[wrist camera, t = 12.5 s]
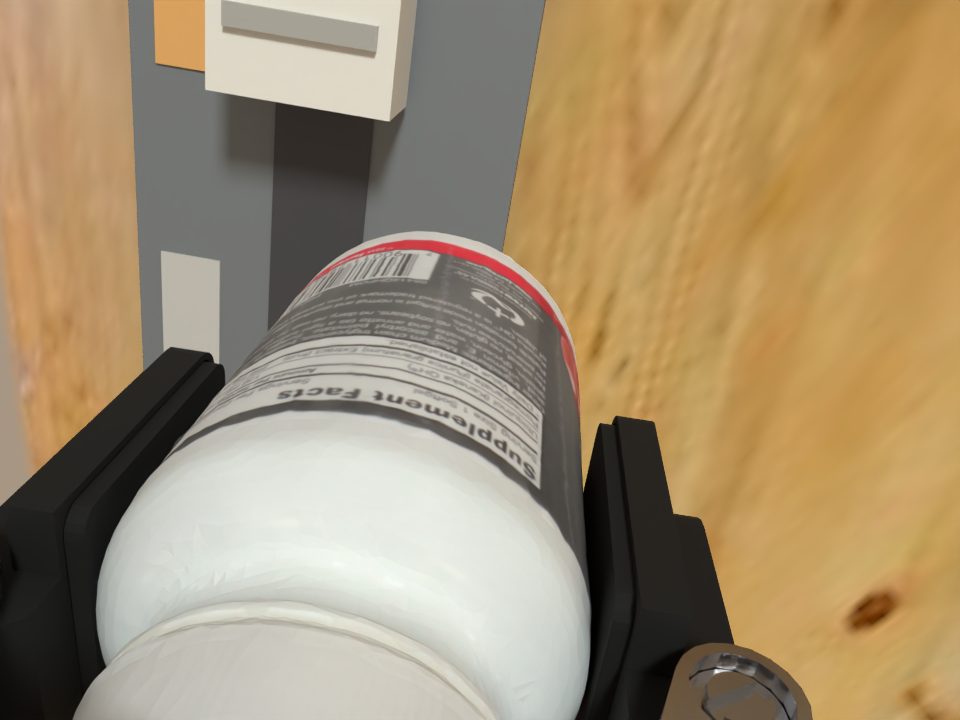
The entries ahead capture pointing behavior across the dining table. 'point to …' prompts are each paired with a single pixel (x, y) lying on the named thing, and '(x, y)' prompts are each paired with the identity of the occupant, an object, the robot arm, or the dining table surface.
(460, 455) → the pill bottle
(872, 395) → the dining table surface
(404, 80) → the switch tab
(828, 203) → the dining table surface
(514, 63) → the switch board
